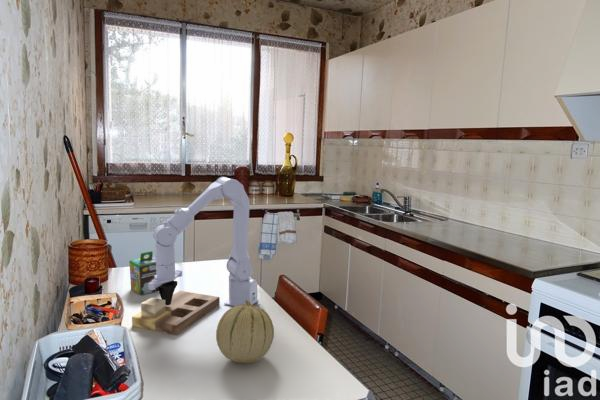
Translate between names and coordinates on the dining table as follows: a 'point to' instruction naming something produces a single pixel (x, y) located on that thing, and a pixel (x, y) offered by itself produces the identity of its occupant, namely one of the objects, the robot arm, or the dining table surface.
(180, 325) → the board
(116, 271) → the dining table surface
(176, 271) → the robot arm
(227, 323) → the cantaloupe
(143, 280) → the chalk box
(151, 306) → the maple block
